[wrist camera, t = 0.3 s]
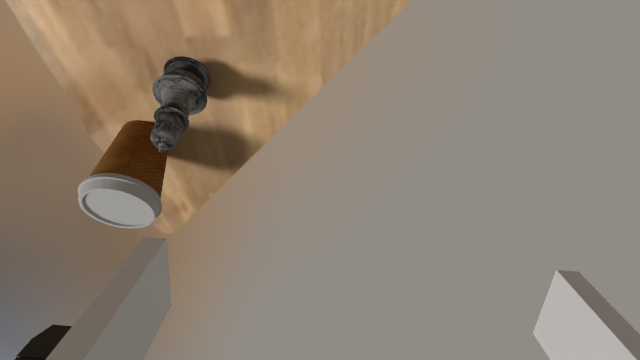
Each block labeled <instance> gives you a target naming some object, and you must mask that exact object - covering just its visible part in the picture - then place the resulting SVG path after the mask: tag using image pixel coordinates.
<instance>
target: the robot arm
mask: <svg viewBox="0 0 640 360" xmlns="http://www.w3.org/2000/svg"><path fill="white" fill-rule="evenodd" d="M169 282H170V281H169V265H168V250H167V238H155V237H143V238H142V239H141V240H140V241H139V243H138V244H137V245H136V246H135V248H134V249H133V250H132V252H131V253H130V254H129V255H128V257H127V258H126V259H125V260H124V262H123V263H122V264H121V265H120V267H119V268H118V269H117V270H116V272H115V273H114V274H113V276H112V277H111V278H110V279H109V280H108V282H107V283H106V284H105V286H104V287H103V288H102V289H101V291H100V292H99V293H98V294H97V296H96V297H95V298H94V299H93V301H92V302H91V303H90V304H89V306H88V307H87V308H86V309H85V311H84V312H83V313H82V315H81V316H80V317H79V318H78V319H77V321H76V322H75V323H74V325H73V326H61V325H52V326H51V327H49V328H47V329H46V330H44V331H43V332H42V333H40V334H38V335H37V336H35V337H34V338H33V339H31V340H30V342H29V343H28V344H27V345H26V346H25V347H24V348H23V350H22V351H21V352H20V353H19V354H18V355H17V357H16V359H15V360H143V359H144V356H145V355H146V353H147V351H148V349H149V347H150V345H151V343H152V341H153V339H154V337H155V335H156V333H157V331H158V330H159V328H160V326H161V324H162V322H163V320H164V318H165V316H166V314H167V312H168V310H169V308H170V306H171V298H170V283H169ZM533 334H534V335H535V337H536V338H537V340H538V341H539V343H540V345H541V346H542V348H543V349H544V351H545V352H546V354H547V355H548V357H549V358H550V360H640V334H639V333H638V332H637V331H636V330H635V329H634V328H633V327H632V326H631V325H630V324H629V323H628V322H627V321H626V320H625V319H624V318H623V317H622V316H621V315H620V314H619V313H618V312H617V311H616V310H615V309H614V308H613V307H612V306H611V305H610V303H608V301H606V299H605V298H604V297H603V296H602V295H601V294H600V293H599V292H598V291H597V290H596V289H595V288H594V287H593V286H592V285H591V284H590V283H589V282H588V281H587V280H586V279H585V278H584V277H583V276H582V275H581V274H580V273H579V272H575V271H562V270H557V271H556V273H555V276H554V278H553V281H552V284H551V286H550V289H549V292H548V294H547V297H546V300H545V303H544V305H543V308H542V310H541V313H540V316H539V318H538V321H537V324H536V326H535V329H534V332H533Z"/></svg>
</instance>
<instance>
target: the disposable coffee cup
mask: <svg viewBox="0 0 640 360" xmlns="http://www.w3.org/2000/svg"><path fill="white" fill-rule="evenodd" d="M153 127H154V125H153V124H151V123H148V122H144V121H131V122H128V123H126V124H125V125H124V126H123V127H122V129H121V130H120V132H119V133H118V135H117V136H116V138H115V139H114V141H113V142H112V144H111V145H110V147H109V148H108V150H107V151H106V153H105V154H104V155H103V157H102V159H101V160H100V162H99V163H98V165H97V166H96V167H95V169H94V171H93V172H92V173H91V175H90V176H89V177H88V178H87V179H86V180H84V181H83V182H82V183H81V184H80V186H79V187H78V194H79V201H78V202H79V205H80V207H81V209H82V210H83V211H84V212H85V213H87V214H88V215H89V216H91V217H92V218H94V219H96V220H98V221H100V222H103V223H105V224H108V225H111V226H116V227H121V228H141V227H146V226H147V225H150V224H151V223H152V222H153V221H154V219H155V218H156V217H157V216H159V215H160V213H161V210H162V204H161V199H160V198H161V191H162V185H163V179H164V172H165V167H166V160H167V153H168V151H166V150H165V151H164V152H162V153H160V152H159V150H158V148H157V147H156V146H155V145H154V144H153V143H152V141H151V132H152V130H153Z"/></svg>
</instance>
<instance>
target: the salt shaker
mask: <svg viewBox="0 0 640 360" xmlns="http://www.w3.org/2000/svg"><path fill="white" fill-rule="evenodd" d="M163 71H164V75H162V76H161V77H159V78H158V79H156V81H155V83H154V84H153V94H154V96H155V98H156V100H157V101H158V102H159V103H160V105H161V107H160V108H158V109H157V110H156V111H155V113H154V118H155V120H156V122H155V124H154V127H153V130H152V132H151V141H152V143H153V144H154V145H155V146H156V147H157V148H158V150H159V152H160V153H162V152H164V151H165V150H166V151H170V150H173V149H175V148H176V147H177V146H178V145H179V142H180V139H181V136H182V133H183V131H184V130H186V129H187V128H188V126H189V120H188V116H189V115H194V114H197V113H199V112H201V111H202V110H203V109H204V108H205V107H206V103H207V96H206V93H205V90H206V89H207V88H208V86H209V83H210V76H209V73H208V71H207V70H206V68H205V67H204V66H203V65H202V64H201V63H199V62H197V61H196V60H194V59H191V58H188V57H174V58H172V59H170V60H168V61H167V62H166V64H165V66H164V70H163Z"/></svg>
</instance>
